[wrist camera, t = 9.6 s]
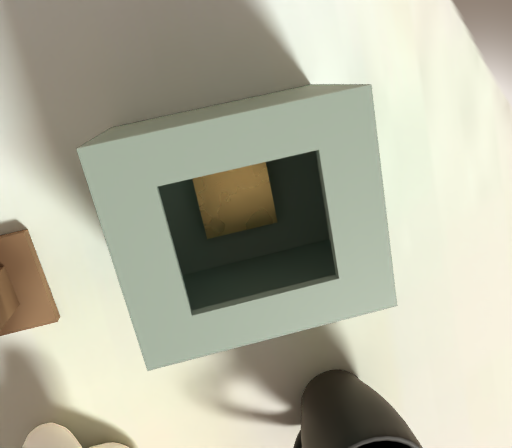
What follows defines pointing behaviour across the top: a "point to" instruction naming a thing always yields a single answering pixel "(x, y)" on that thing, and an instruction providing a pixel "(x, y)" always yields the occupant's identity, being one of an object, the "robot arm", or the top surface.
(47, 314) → the token stand
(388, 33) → the top surface
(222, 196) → the panel
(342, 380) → the mug
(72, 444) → the white knot sculpture
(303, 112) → the box
